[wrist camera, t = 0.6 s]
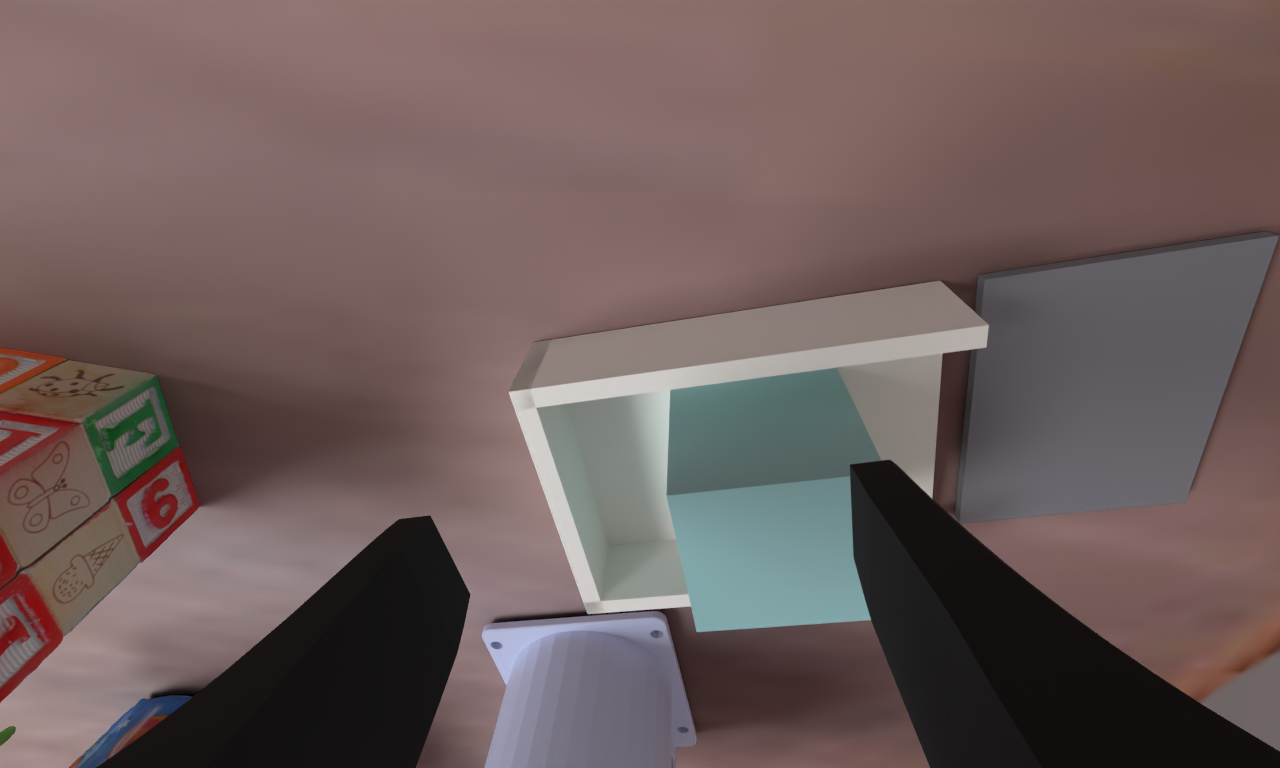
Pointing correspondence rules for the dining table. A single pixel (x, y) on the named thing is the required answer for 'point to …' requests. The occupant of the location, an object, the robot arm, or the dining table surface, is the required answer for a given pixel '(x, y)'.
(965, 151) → the dining table surface
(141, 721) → the snack cup
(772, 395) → the teal block
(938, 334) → the open box
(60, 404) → the stack of blocks
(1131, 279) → the charcoal mat
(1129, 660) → the robot arm
